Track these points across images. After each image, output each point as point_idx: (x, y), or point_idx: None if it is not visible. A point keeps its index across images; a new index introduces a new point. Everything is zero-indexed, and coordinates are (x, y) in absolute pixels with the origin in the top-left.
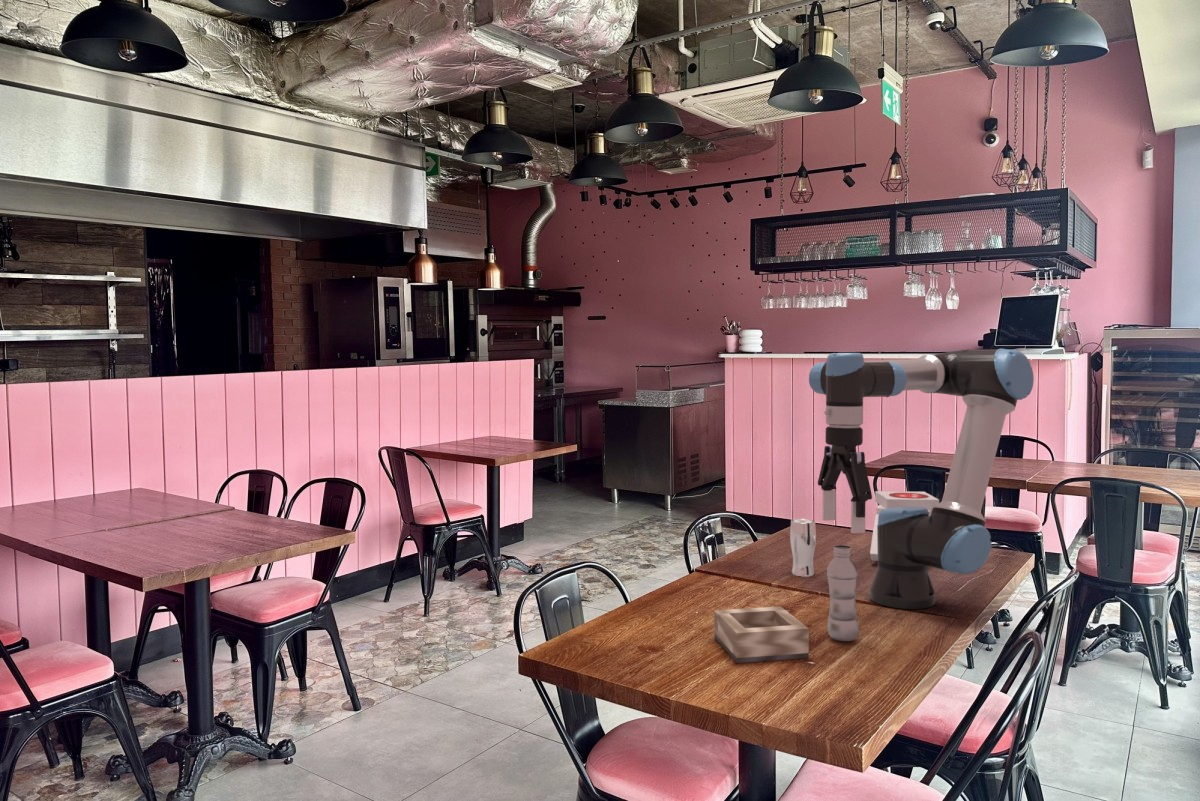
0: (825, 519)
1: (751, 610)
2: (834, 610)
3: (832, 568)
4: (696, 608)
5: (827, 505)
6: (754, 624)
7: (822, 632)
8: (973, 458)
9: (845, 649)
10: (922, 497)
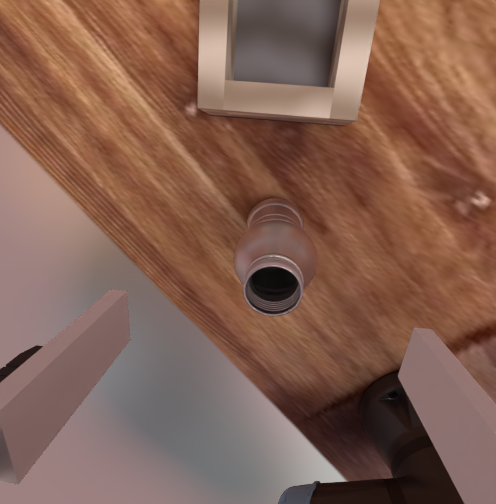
0: (413, 337)
1: (355, 25)
2: (266, 210)
3: (265, 230)
4: None
5: (450, 404)
6: (337, 41)
7: (320, 207)
8: None
9: (233, 199)
10: None
